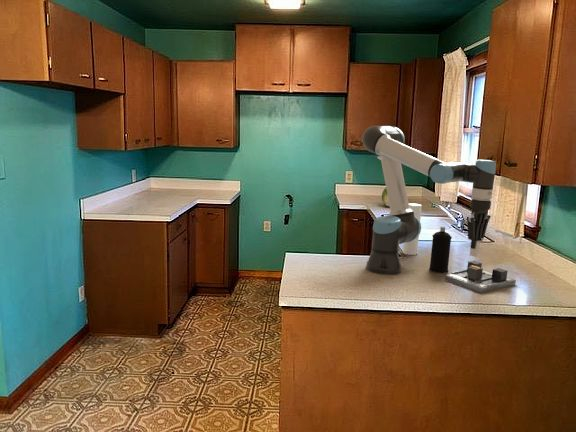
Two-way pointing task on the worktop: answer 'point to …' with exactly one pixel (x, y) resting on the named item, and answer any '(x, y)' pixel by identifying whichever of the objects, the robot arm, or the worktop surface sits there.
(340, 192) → the worktop surface
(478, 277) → the breaker handle
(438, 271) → the aerosol can
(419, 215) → the cylindrical container
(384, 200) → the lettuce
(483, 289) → the panel
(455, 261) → the worktop surface
